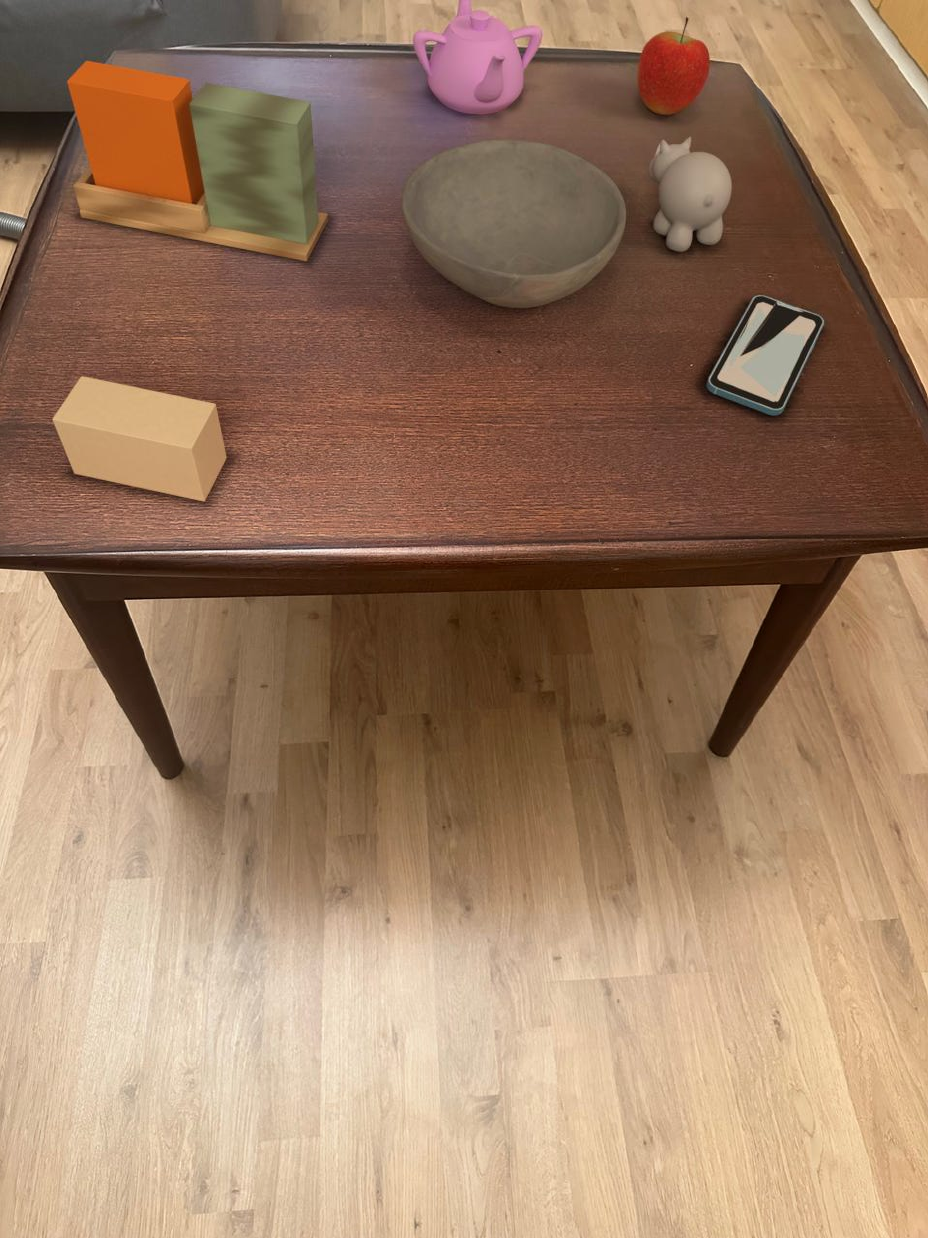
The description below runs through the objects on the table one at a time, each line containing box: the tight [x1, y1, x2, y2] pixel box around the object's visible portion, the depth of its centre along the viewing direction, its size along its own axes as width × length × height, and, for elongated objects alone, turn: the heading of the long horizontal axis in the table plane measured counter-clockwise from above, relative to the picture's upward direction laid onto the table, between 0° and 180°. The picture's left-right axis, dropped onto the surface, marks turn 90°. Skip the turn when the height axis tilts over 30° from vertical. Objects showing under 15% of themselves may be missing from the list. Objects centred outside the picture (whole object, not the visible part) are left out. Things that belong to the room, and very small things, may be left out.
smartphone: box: [705, 294, 825, 416], centre depth 89 cm, size 7×1×15 cm
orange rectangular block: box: [66, 60, 205, 205], centre depth 90 cm, size 10×4×12 cm, turn 77°
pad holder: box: [72, 82, 329, 262], centre depth 90 cm, size 24×7×13 cm, turn 77°
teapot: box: [412, 0, 543, 115], centre depth 109 cm, size 12×14×9 cm
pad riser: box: [52, 375, 227, 502], centre depth 74 cm, size 11×5×6 cm, turn 77°
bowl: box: [400, 139, 627, 309], centre depth 90 cm, size 21×21×8 cm
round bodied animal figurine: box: [647, 136, 733, 253], centre depth 97 cm, size 7×12×8 cm, turn 18°
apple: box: [636, 16, 711, 116], centre depth 109 cm, size 8×8×10 cm
